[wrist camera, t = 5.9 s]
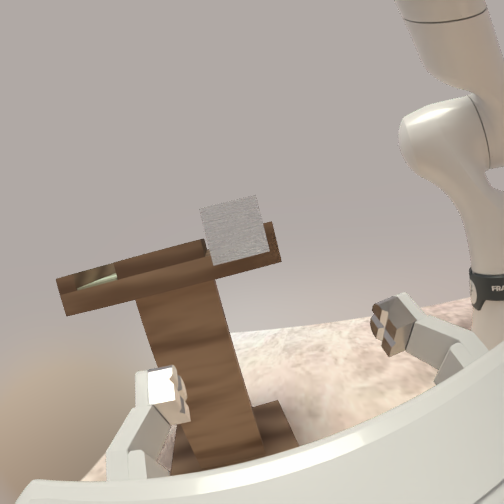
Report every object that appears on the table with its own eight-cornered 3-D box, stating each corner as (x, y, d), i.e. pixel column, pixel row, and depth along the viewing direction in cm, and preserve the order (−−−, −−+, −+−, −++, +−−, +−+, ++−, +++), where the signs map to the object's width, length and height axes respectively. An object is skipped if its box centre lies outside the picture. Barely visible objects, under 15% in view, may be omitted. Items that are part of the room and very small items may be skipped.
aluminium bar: (269, 251, 17) (255, 194, 16) (213, 265, 16) (199, 208, 16) (233, 242, 42) (227, 220, 42) (211, 248, 42) (205, 226, 42)
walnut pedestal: (325, 466, 29) (271, 221, 27) (157, 502, 26) (55, 279, 24) (292, 403, 45) (248, 227, 42) (168, 433, 42) (107, 264, 40)
